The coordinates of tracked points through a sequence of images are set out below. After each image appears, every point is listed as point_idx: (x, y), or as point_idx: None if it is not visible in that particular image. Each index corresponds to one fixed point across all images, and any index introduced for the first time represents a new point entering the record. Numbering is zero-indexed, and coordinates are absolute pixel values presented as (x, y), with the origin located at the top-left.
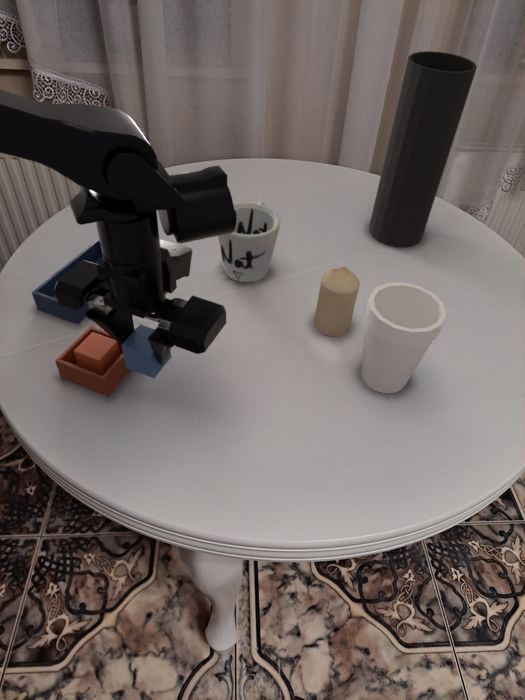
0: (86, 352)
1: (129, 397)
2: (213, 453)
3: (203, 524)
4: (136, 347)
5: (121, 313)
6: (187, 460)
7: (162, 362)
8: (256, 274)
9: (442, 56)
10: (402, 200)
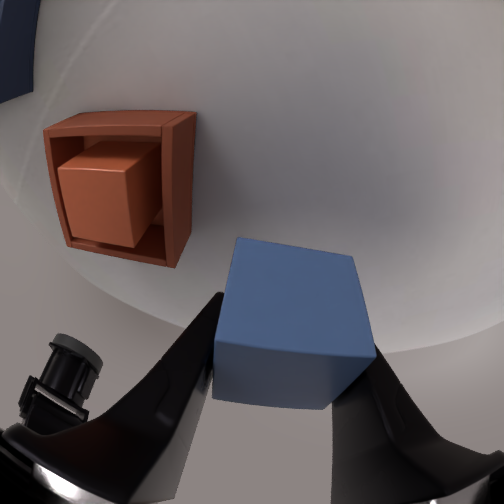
0: (94, 233)
1: (233, 223)
2: (411, 288)
3: (392, 350)
4: (266, 403)
5: (169, 477)
6: (375, 304)
7: None
8: None
9: None
10: None
